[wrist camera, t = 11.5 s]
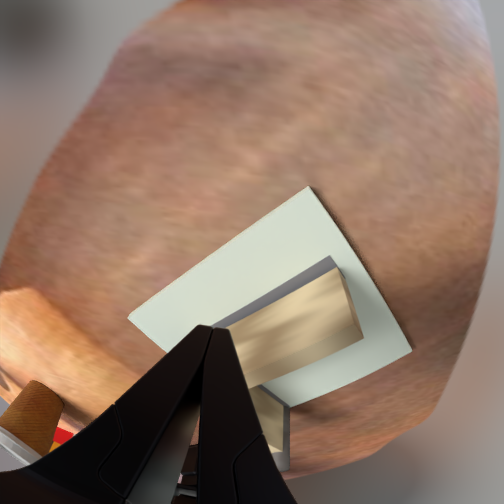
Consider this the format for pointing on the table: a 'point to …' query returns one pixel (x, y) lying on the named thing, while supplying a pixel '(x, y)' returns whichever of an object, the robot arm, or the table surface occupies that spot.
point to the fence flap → (297, 329)
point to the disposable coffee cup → (30, 423)
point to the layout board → (279, 295)
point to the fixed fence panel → (274, 426)
